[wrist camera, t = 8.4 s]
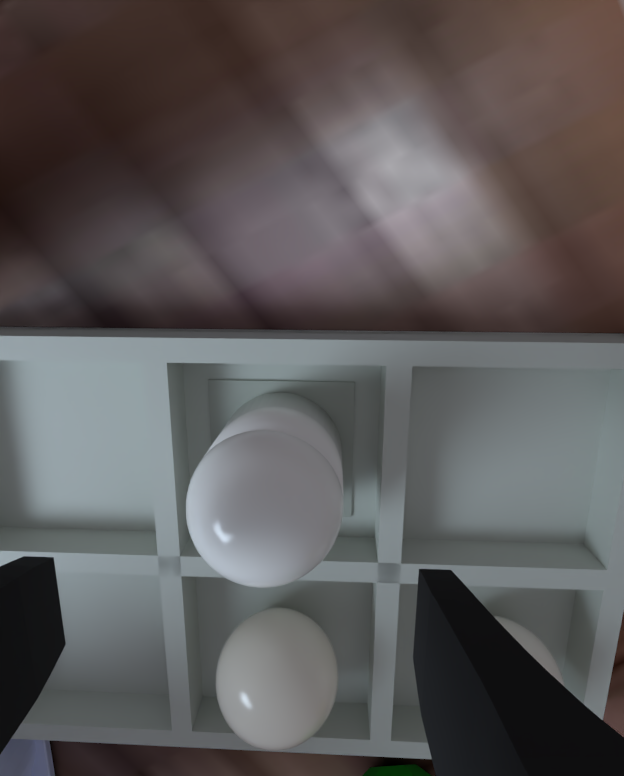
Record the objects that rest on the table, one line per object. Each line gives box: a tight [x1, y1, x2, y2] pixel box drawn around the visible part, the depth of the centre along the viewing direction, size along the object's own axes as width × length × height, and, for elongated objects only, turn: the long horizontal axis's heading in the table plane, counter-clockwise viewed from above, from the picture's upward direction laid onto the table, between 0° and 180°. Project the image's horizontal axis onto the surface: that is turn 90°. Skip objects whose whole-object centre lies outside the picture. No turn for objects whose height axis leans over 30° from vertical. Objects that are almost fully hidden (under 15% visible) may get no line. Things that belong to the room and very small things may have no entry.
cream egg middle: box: [216, 608, 338, 751], centre depth 17 cm, size 4×4×4 cm
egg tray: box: [0, 327, 624, 759], centre depth 18 cm, size 16×24×2 cm
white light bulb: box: [186, 392, 344, 588], centre depth 14 cm, size 4×4×6 cm
